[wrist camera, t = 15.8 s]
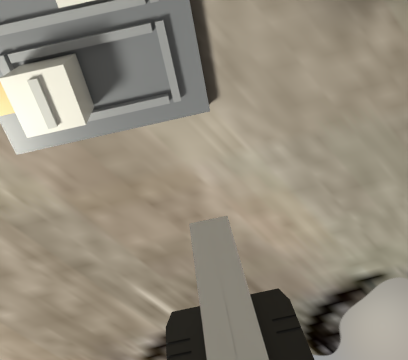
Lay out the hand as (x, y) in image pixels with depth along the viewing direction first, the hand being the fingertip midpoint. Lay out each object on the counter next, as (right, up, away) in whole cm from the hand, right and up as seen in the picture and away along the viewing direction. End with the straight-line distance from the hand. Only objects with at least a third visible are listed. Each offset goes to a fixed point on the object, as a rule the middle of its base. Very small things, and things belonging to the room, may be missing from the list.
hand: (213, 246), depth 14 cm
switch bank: (-9, +14, +12) cm, 21 cm away
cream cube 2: (-11, +10, +12) cm, 19 cm away
